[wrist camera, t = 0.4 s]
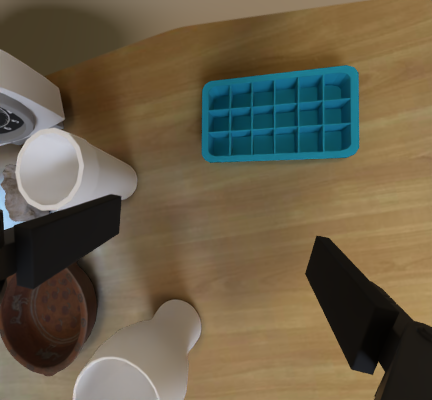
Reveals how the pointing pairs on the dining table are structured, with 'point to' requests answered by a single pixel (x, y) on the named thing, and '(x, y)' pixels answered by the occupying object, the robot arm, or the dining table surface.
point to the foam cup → (69, 171)
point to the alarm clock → (26, 102)
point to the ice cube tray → (282, 116)
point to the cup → (143, 358)
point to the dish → (48, 320)
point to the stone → (17, 198)
